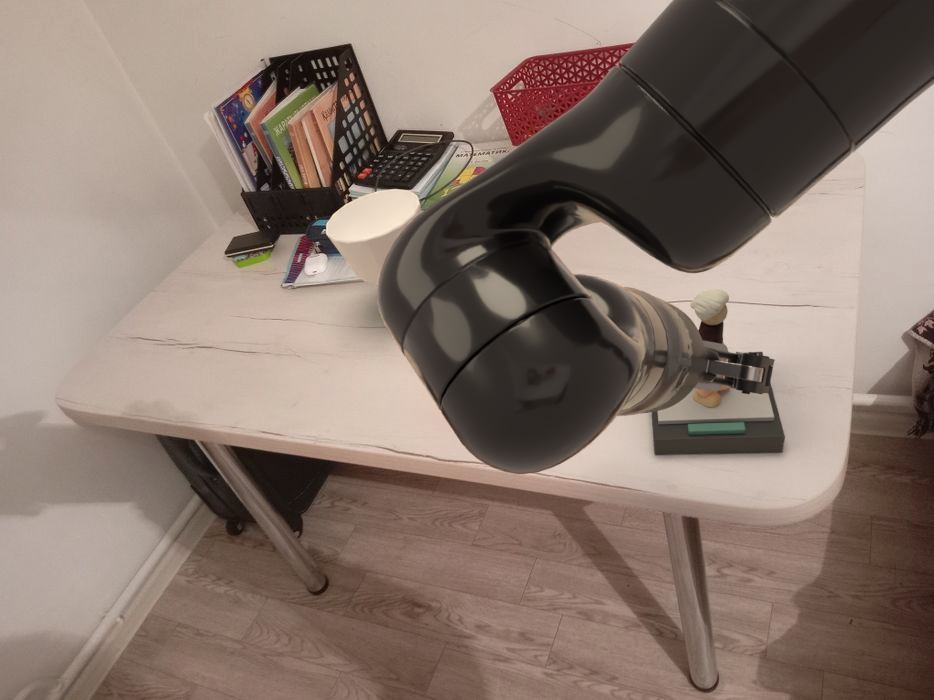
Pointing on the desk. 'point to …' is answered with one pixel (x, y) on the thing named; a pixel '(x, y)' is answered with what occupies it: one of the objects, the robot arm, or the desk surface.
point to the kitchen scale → (720, 425)
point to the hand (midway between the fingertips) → (683, 361)
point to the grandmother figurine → (710, 332)
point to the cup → (371, 229)
